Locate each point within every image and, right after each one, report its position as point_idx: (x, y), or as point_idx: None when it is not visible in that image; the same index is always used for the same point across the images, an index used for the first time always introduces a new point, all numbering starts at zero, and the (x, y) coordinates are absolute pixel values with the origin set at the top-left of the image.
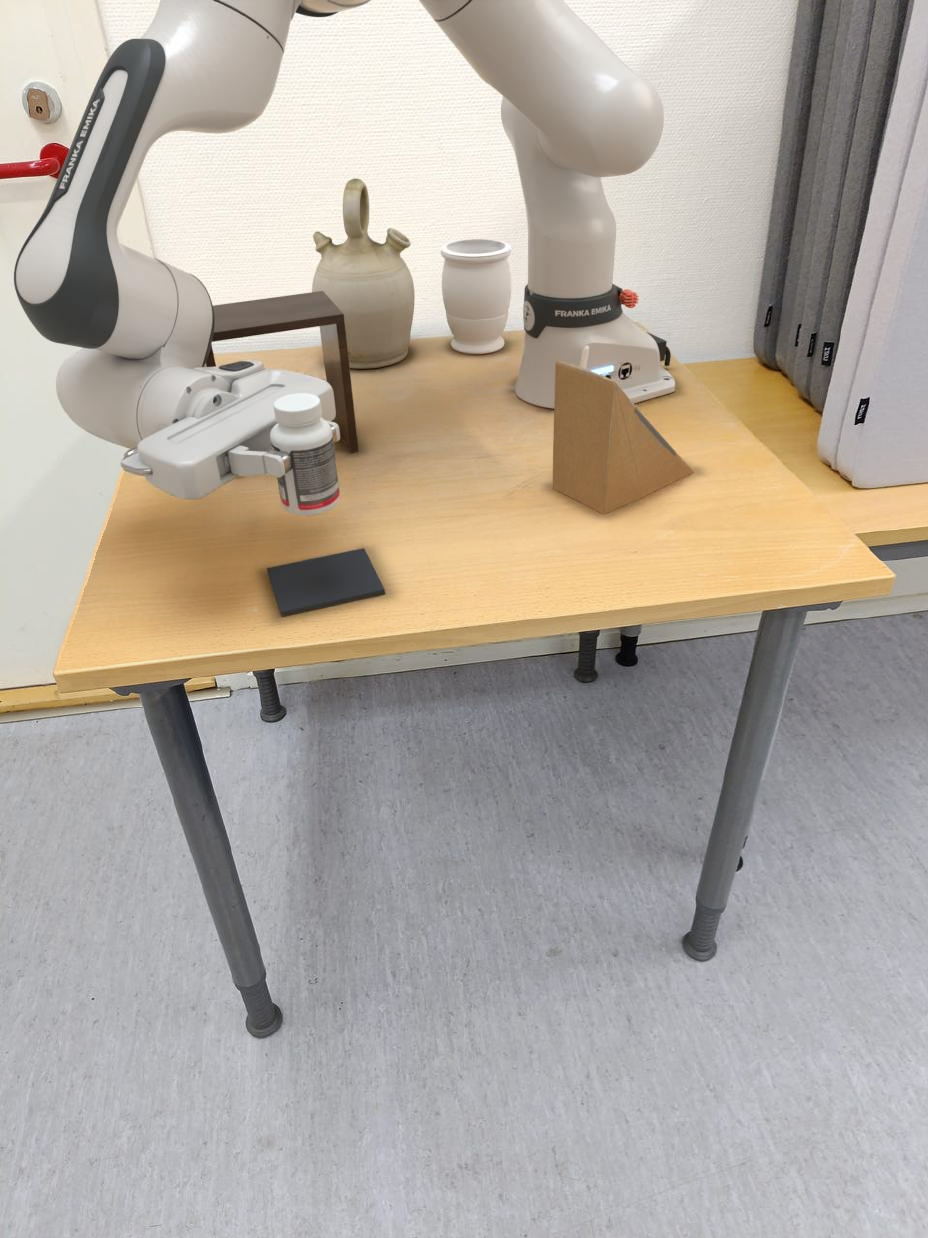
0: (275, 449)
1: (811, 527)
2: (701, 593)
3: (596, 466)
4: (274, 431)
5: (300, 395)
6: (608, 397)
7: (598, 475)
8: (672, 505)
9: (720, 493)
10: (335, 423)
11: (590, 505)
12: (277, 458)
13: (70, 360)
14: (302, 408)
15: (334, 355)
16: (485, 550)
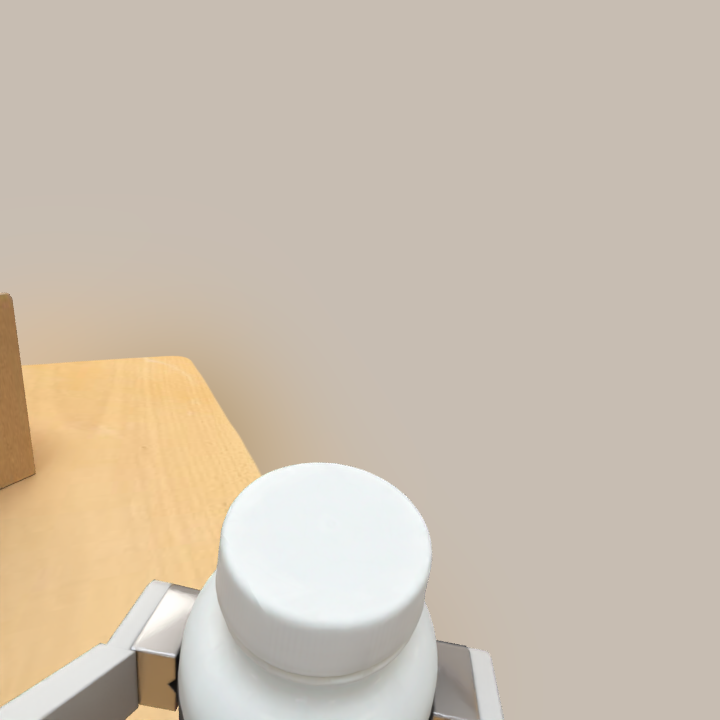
0: (436, 705)
1: (113, 367)
2: (220, 414)
3: (5, 425)
4: (404, 696)
5: (256, 535)
6: (3, 320)
7: (13, 433)
8: (34, 425)
9: None
10: (151, 584)
11: (8, 482)
12: (486, 653)
13: None
14: (381, 487)
15: None
16: (119, 587)
